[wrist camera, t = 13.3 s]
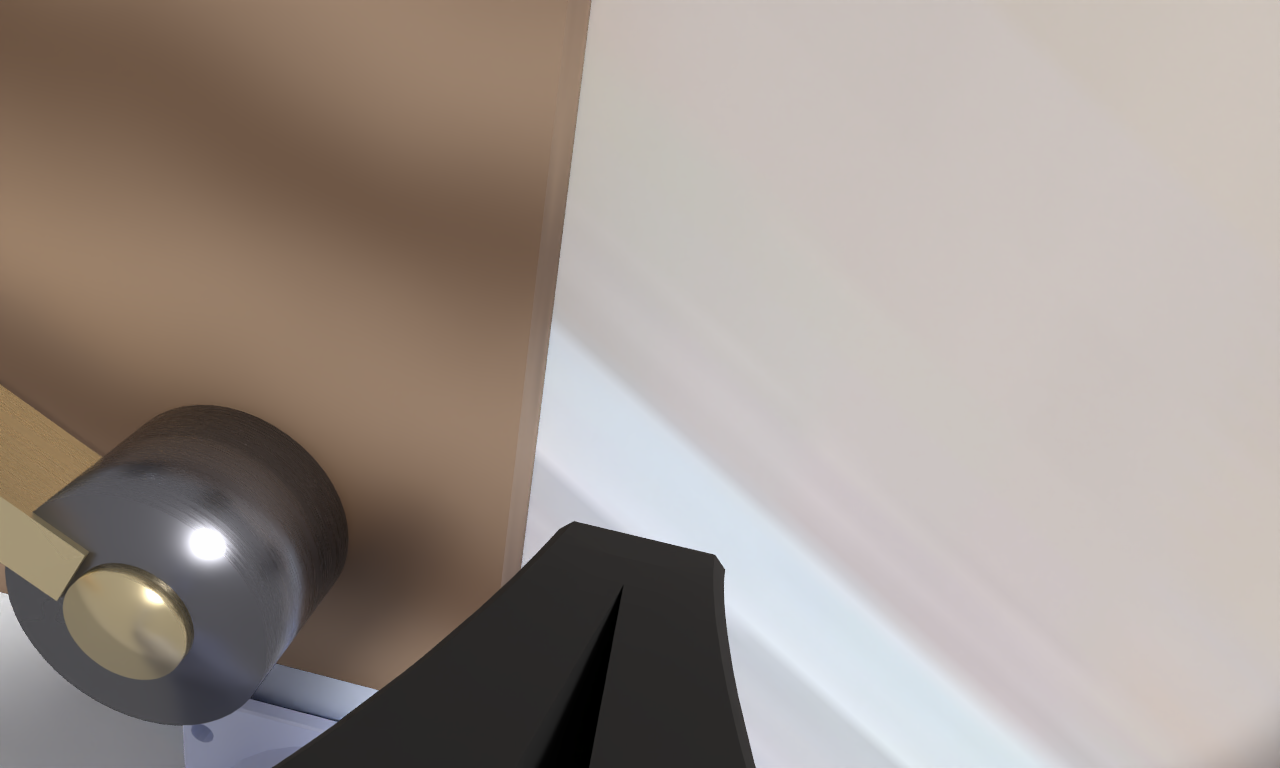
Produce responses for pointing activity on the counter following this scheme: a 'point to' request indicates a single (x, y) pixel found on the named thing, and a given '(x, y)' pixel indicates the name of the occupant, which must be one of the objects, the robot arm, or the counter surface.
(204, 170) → the brown knob panel
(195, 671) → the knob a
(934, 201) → the counter surface
